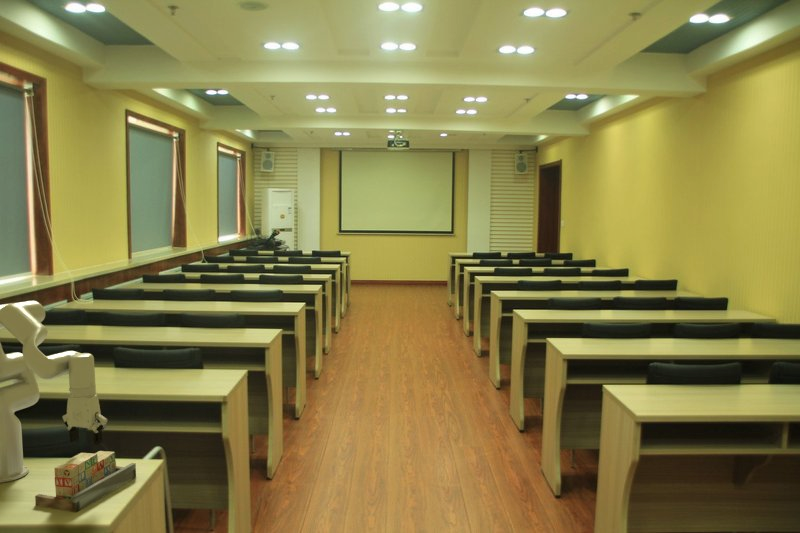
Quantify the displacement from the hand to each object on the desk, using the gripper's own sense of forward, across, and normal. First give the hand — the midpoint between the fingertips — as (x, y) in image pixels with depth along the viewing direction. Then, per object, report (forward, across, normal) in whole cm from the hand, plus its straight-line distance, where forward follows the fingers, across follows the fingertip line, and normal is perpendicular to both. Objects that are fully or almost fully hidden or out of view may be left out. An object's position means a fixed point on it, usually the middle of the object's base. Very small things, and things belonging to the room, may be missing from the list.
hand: (86, 442), depth 201 cm
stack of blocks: (+17, -1, 0) cm, 17 cm away
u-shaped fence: (+16, 0, 0) cm, 17 cm away
